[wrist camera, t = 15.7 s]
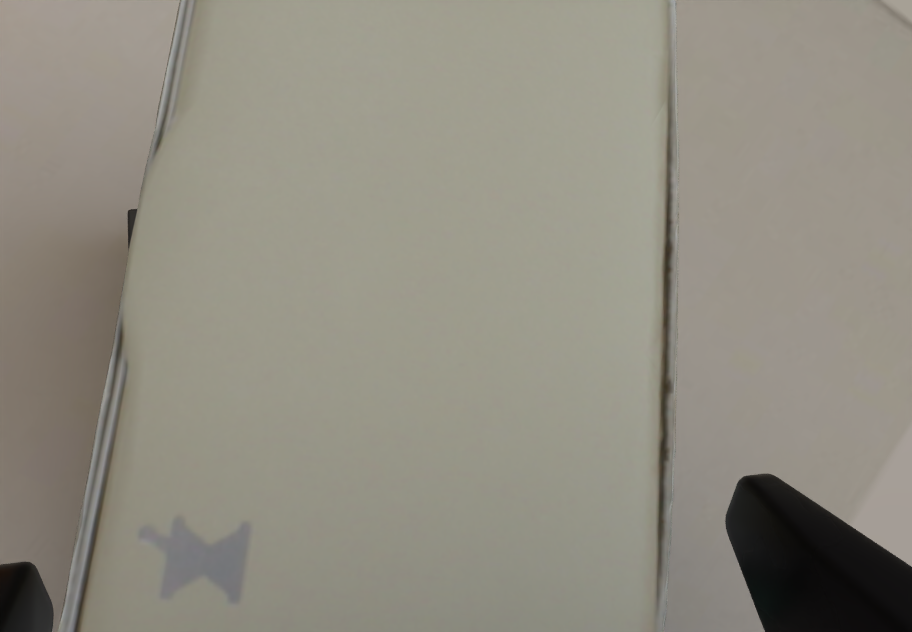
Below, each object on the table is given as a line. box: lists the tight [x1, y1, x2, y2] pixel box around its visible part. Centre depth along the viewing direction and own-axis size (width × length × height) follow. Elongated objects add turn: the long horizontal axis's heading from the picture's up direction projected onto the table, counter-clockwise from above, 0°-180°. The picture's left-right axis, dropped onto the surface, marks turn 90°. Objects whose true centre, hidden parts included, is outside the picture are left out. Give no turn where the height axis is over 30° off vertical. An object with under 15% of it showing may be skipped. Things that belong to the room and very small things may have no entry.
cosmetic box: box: [57, 0, 679, 632], centre depth 11 cm, size 6×4×12 cm
